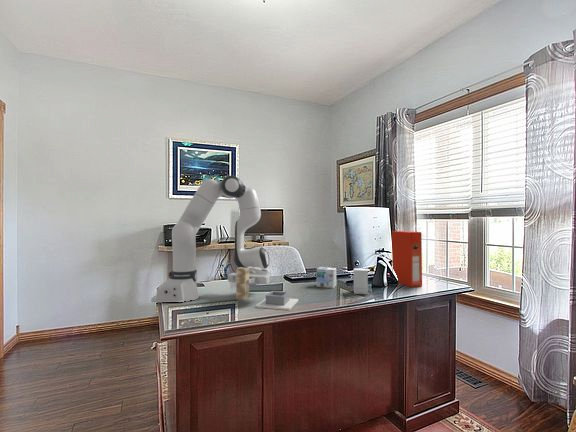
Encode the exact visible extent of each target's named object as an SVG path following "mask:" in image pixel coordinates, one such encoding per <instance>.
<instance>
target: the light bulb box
mask: <svg viewBox="0 0 576 432" xmlns="http://www.w3.org/2000/svg"><path fill="white" fill-rule="evenodd" d="M315 285H316V286H315V287H319V288H328V289H335V286H337V268H336V267H323V266H319V267H317V268H316V284H315Z"/></svg>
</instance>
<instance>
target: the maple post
mask: <svg viewBox="0 0 576 432" xmlns="http://www.w3.org/2000/svg"><path fill="white" fill-rule="evenodd" d="M249 268H250V267H247V268H246V267H240V268H239V267H237V268H235V269H236V272H235V273H236V283H235V284H236V285H235V286H236V288H235V289H236V290H235V291H236V292H235V295H236V297H235V298H236V300H243V301H246V300H248V299H249V298H250V285H249V284H248V283H247V279H249Z"/></svg>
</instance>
